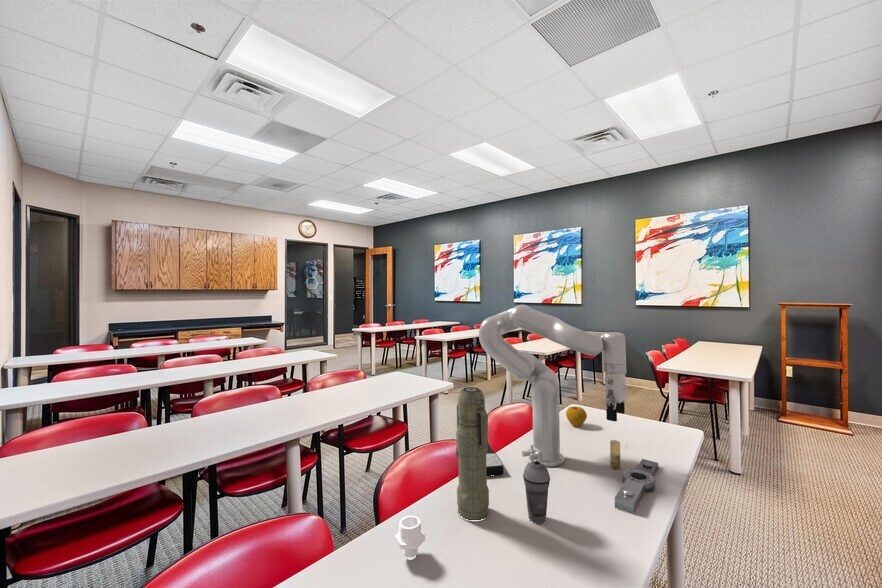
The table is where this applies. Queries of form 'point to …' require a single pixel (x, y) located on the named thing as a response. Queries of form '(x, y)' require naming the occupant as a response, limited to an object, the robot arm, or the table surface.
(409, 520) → the pipe fitting
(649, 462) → the lower chain end
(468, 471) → the thermos
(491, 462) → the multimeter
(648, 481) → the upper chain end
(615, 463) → the brass pin
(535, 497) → the mini scuba tank
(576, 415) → the apple
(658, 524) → the table surface
